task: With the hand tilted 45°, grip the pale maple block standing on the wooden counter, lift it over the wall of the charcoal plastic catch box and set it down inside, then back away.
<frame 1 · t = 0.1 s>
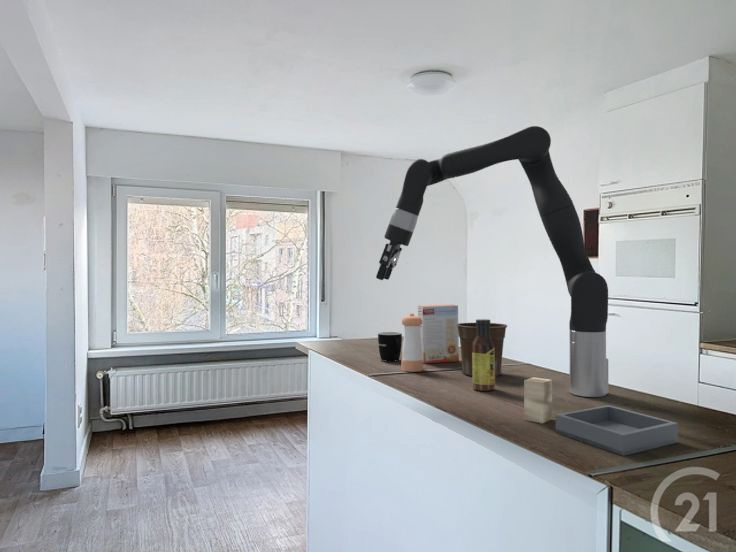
hand: (382, 279, 159), 31 cm above the worktop, tool tilted 20°, fingers open, 8 cm apart
pepper shaker: (412, 370, 184), on the worktop
catch box: (614, 437, 109), on the worktop
mug: (392, 361, 202), on the worktop
sauce bottle: (483, 390, 153), on the worktop
plant pot: (481, 374, 176), on the worktop
cracker box: (438, 362, 199), on the worktop
maple block: (538, 419, 123), on the worktop
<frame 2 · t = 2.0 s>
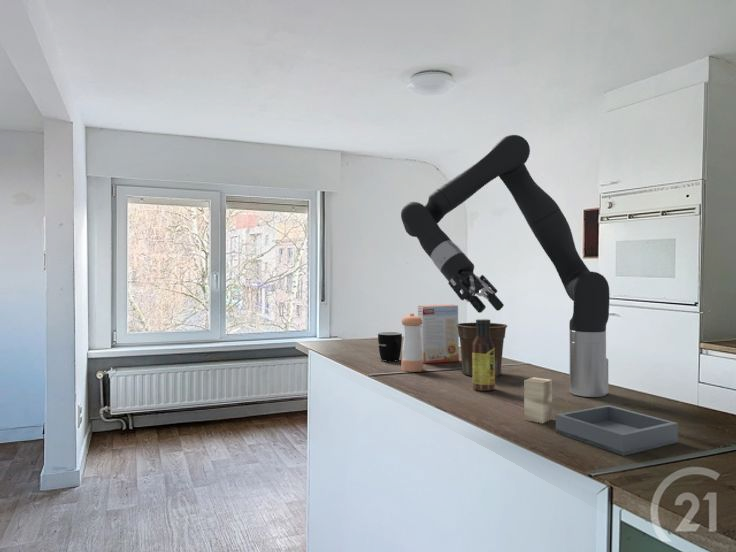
hand: (492, 309, 130), 24 cm above the worktop, tool tilted 45°, fingers open, 8 cm apart
nothing on the worktop moved.
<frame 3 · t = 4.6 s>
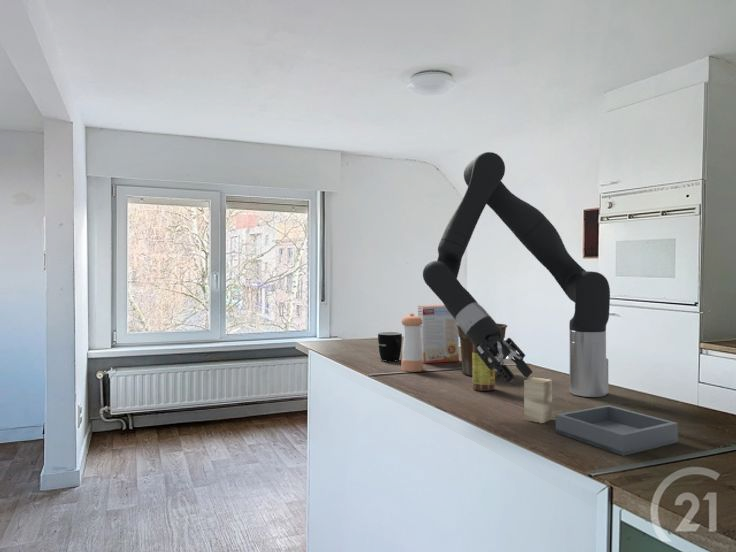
hand: (521, 377, 125), 9 cm above the worktop, tool tilted 45°, fingers open, 8 cm apart
nothing on the worktop moved.
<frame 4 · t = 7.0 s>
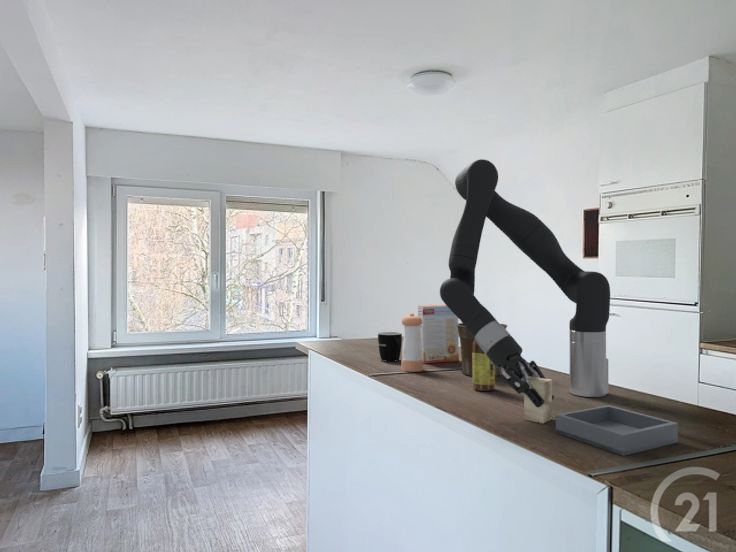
hand: (546, 402, 121), 4 cm above the worktop, tool tilted 45°, fingers closed on maple block, 4 cm apart
maple block: (538, 419, 123), on the worktop, touching gripper
everything else where it was.
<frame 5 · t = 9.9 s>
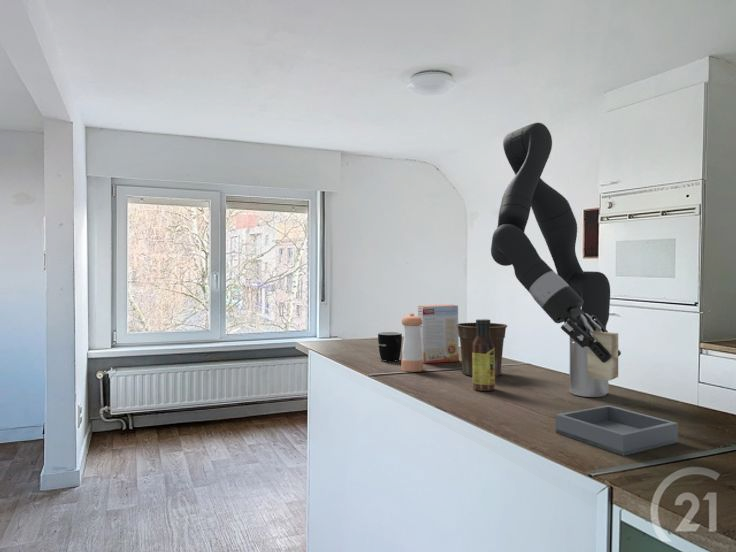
hand: (612, 358, 109), 16 cm above the worktop, tool tilted 45°, fingers closed on maple block, 4 cm apart
maple block: (602, 377, 111), point 12 cm above the worktop, touching gripper
everything else where it was.
when the fingers open (6 cm above the worktop, at t = 12.8 s): maple block drops 1 cm, resting on catch box.
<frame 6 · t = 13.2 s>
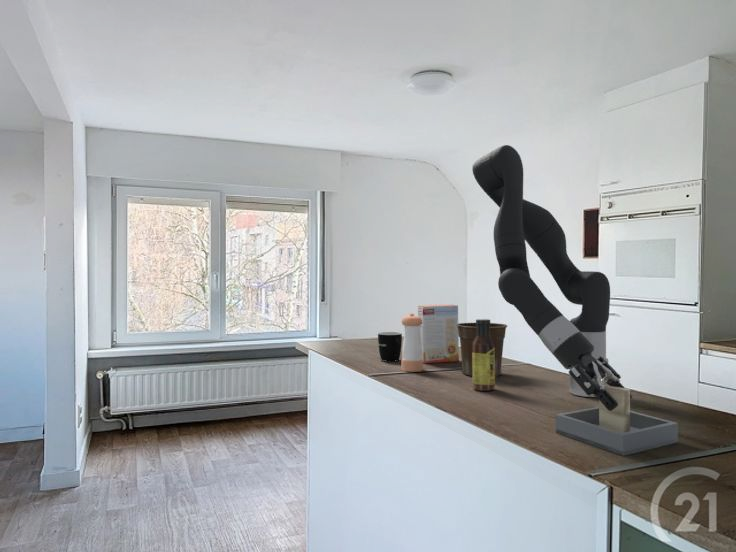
hand: (621, 404, 108), 7 cm above the worktop, tool tilted 45°, fingers open, 8 cm apart
maple block: (614, 433, 109), point 1 cm above the worktop, touching catch box
everything else where it was.
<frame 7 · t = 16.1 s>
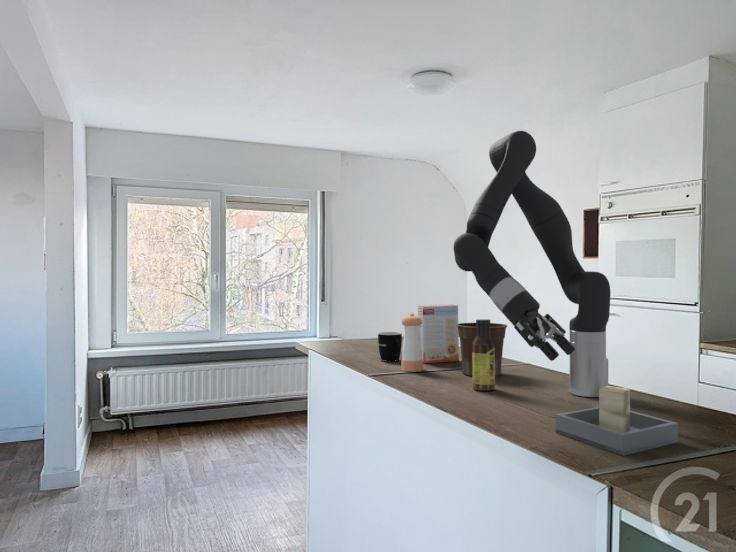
hand: (564, 355, 116), 16 cm above the worktop, tool tilted 45°, fingers open, 8 cm apart
nothing on the worktop moved.
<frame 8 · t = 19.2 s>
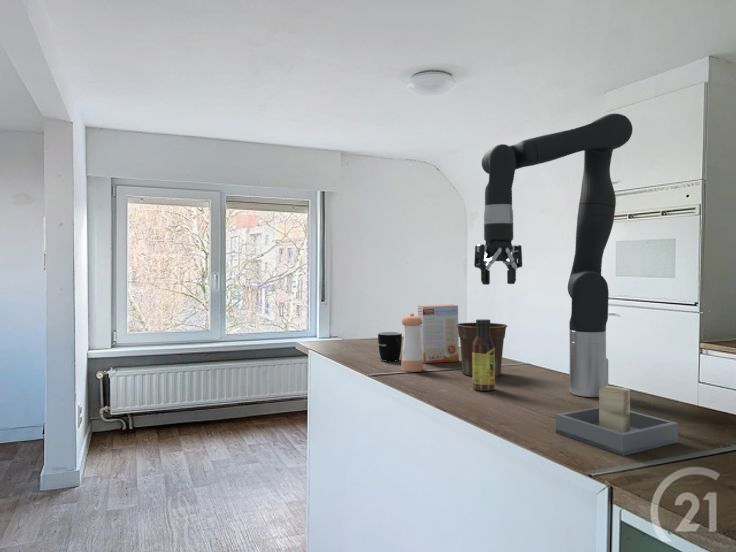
hand: (498, 284, 143), 30 cm above the worktop, tool pointing down, fingers open, 8 cm apart
nothing on the worktop moved.
at the end: maple block inside the target area on the catch box (0.1 cm from its centre), point 0.8 cm above the catch box's base; maple block tilted 0°; the gripper is holding nothing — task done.
